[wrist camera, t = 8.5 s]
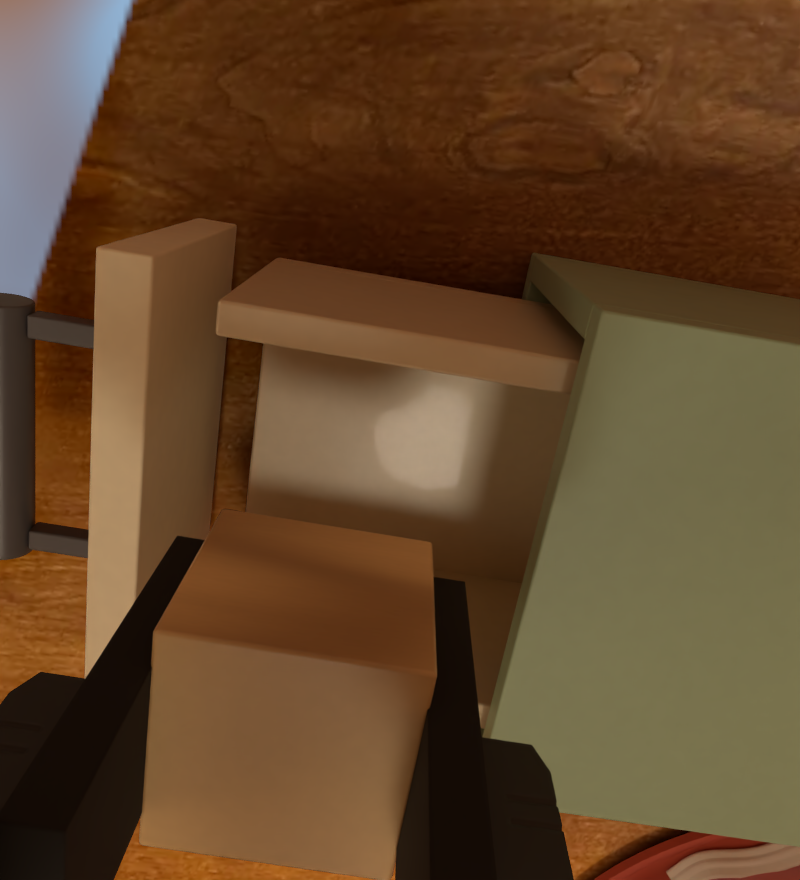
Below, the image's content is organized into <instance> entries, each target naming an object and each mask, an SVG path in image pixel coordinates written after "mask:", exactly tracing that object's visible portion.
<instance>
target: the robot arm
mask: <svg viewBox="0 0 800 880" xmlns="http://www.w3.org/2000/svg"><path fill="white" fill-rule="evenodd" d="M204 541H205V540H202V539H195V538H189V537H183V536H177V537H176V538H175V540H174V541H173V543H172V544H171V546H170V547H169V549H168V551H167V552H166V554H165V555H164V557H163V558H162V560H161V562H160V563H159V565H158V566H157V568H156V569H155V571H154V572H153V574H152V576H151V577H150V579H149V580H148V582H147V583H146V585H145V586H144V588H143V590H142V591H141V593H140V594H139V596H138V597H137V599H136V600H135V602H134V604H133V605H132V607H131V608H130V610H129V611H128V613H127V614H126V616H125V618H124V619H123V621H122V622H121V624H120V625H119V627H118V629H117V630H116V632H115V633H114V635H113V636H112V638H111V639H110V641H109V643H108V644H107V646H106V647H105V649H104V650H103V652H102V653H101V655H100V657H99V658H98V660H97V661H96V663H95V664H94V666H93V667H92V669H91V671H90V672H89V674H88V675H87V677H86V678H85V679H83V678H77V677H70V676H64V675H57V674H51V673H44V672H40V673H38V674H37V675H35V676H34V677H32V678H31V679H29V680H28V681H26V682H25V683H23V684H22V685H20V686H19V687H17V688H16V689H14V690H13V691H11V692H10V693H9V694H8V695H7V697H6V698H5V699H4V701H3V702H2V703H1V704H0V880H114V878H115V875H116V873H117V871H118V868H119V866H120V863H121V861H122V859H123V856H124V854H125V852H126V849H127V847H128V845H129V842H130V840H131V837H132V835H133V833H134V830H135V828H136V826H137V823H138V821H139V819H140V816H141V814H142V804H143V789H144V774H145V760H146V745H147V730H148V715H149V701H150V686H151V671H152V667H151V655H152V641H153V631H154V629H155V627H156V626H157V624H158V622H159V620H160V619H161V617H162V615H163V613H164V611H165V610H166V608H167V606H168V604H169V603H170V601H171V599H172V597H173V596H174V594H175V592H176V590H177V588H178V587H179V585H180V583H181V581H182V580H183V578H184V576H185V574H186V573H187V571H188V569H189V567H190V565H191V564H192V562H193V560H194V558H195V557H196V555H197V553H198V551H199V549H200V548H201V546H202V544H203V542H204ZM434 602H435V628H436V654H437V680H436V684H435V688H434V693H433V697H432V702H431V706H430V708H429V709H428V710H427V715H426V719H425V724H424V728H423V733H422V737H421V742H420V746H419V751H418V755H417V760H416V764H415V769H414V773H413V778H412V782H411V787H410V791H409V796H408V800H407V805H406V809H405V814H404V818H403V823H402V827H401V832H400V836H399V841H398V845H397V850H396V876H395V880H574V879H573V874H572V870H571V865H570V860H569V856H568V851H567V846H566V842H565V837H564V832H562V823H561V818H560V814H559V809H558V807H557V806H556V803H557V800H556V795H555V790H554V786H553V781H552V776H551V772H550V770H549V769H548V768H547V766H546V765H545V763H544V762H543V760H542V759H541V757H540V756H539V754H538V753H537V751H536V750H535V748H534V747H533V745H530V744H523V743H517V742H510V741H504V740H497V739H490V738H484V737H482V735H481V726H480V716H479V707H478V698H477V688H476V679H475V670H474V661H473V651H472V642H471V633H470V624H469V614H468V605H467V596H466V587H465V582H464V581H457V580H451V579H445V578H439V577H434Z"/></svg>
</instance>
